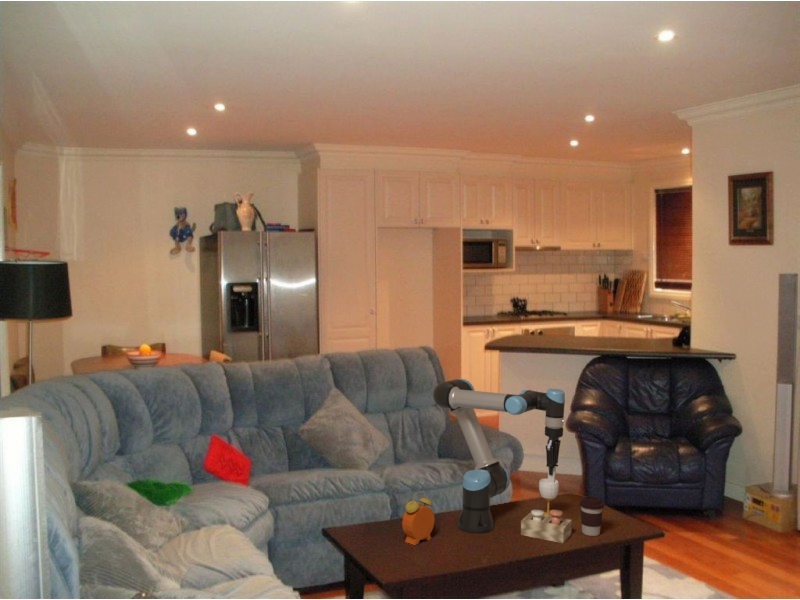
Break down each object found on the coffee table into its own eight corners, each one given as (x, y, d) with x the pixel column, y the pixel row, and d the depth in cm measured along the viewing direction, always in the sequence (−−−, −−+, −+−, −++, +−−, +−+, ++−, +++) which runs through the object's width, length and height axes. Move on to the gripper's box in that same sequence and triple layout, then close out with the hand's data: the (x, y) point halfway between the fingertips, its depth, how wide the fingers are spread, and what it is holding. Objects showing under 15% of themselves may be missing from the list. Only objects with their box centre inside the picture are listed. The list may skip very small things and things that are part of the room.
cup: (560, 520, 330) (561, 484, 329) (539, 519, 330) (540, 483, 329) (556, 513, 339) (557, 478, 338) (536, 512, 339) (537, 477, 338)
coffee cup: (603, 538, 309) (604, 503, 308) (579, 536, 311) (580, 501, 310) (602, 530, 318) (603, 495, 317) (578, 528, 320) (579, 493, 319)
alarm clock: (423, 534, 310) (424, 487, 309) (434, 538, 305) (435, 490, 304) (401, 542, 301) (401, 494, 299) (411, 547, 296) (412, 497, 295)
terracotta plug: (547, 531, 309) (548, 512, 309) (551, 527, 314) (551, 508, 313) (559, 534, 307) (560, 514, 306) (563, 530, 311) (564, 510, 311)
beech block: (520, 534, 311) (521, 520, 311) (530, 525, 322) (530, 512, 322) (563, 543, 303) (563, 528, 303) (571, 533, 313) (571, 519, 313)
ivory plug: (529, 531, 313) (529, 512, 313) (533, 527, 318) (533, 508, 317) (540, 533, 311) (541, 514, 310) (544, 529, 315) (545, 510, 315)
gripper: (558, 430, 303) (555, 487, 305) (567, 424, 314) (564, 479, 316) (540, 428, 307) (537, 484, 308) (550, 422, 318) (547, 476, 320)
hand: (551, 481), depth 312 cm, fingers closed
